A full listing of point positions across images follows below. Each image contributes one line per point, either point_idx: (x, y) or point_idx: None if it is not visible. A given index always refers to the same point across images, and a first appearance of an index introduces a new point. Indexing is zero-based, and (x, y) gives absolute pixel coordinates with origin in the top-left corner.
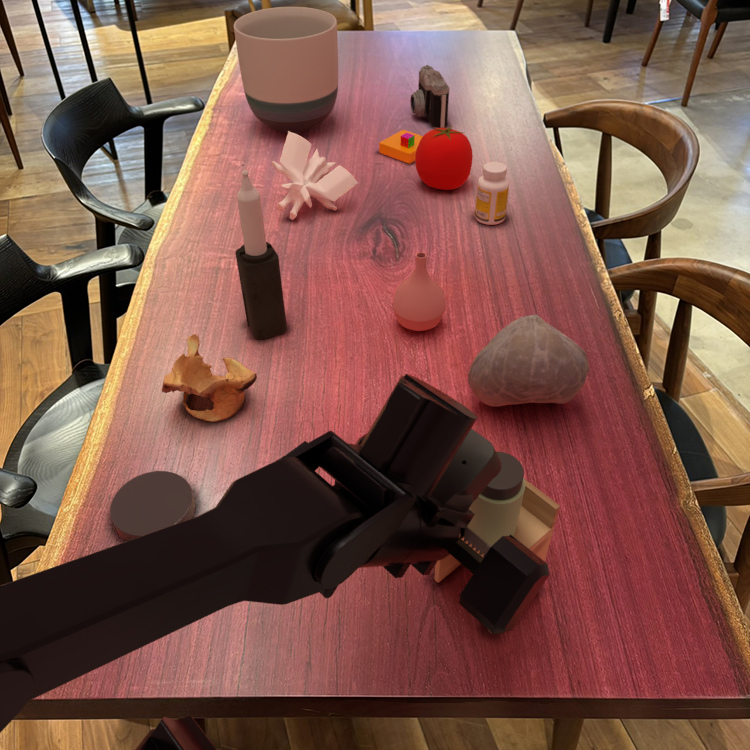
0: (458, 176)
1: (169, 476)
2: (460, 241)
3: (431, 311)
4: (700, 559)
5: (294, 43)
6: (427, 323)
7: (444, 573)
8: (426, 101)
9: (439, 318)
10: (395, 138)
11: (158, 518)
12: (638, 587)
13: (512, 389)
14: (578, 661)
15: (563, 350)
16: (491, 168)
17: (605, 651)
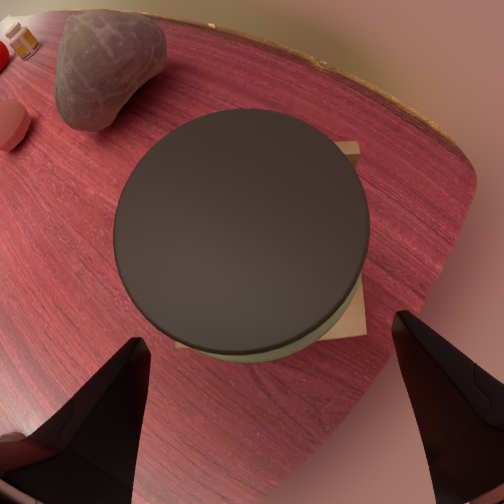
0: (1, 56)
1: (4, 440)
2: (21, 75)
3: (14, 119)
4: (375, 95)
5: None
6: (20, 129)
7: None
8: None
9: (26, 117)
10: None
11: None
12: (374, 154)
13: (108, 88)
14: (406, 268)
15: (124, 15)
16: (9, 30)
17: (412, 236)
